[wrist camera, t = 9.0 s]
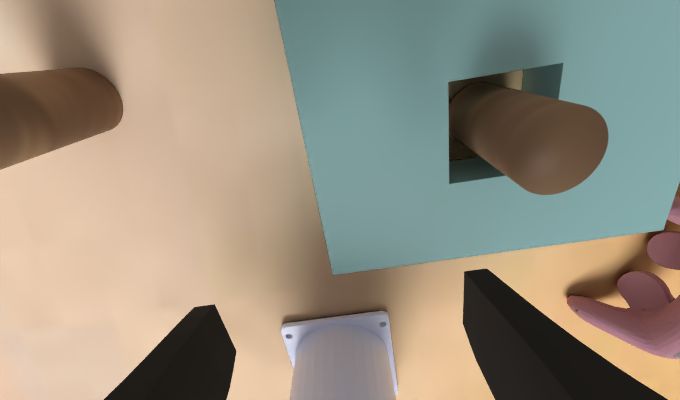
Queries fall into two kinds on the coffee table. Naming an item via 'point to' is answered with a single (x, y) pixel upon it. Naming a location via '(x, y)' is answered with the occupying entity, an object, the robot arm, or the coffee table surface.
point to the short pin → (530, 136)
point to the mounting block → (433, 121)
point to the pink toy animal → (643, 301)
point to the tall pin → (53, 111)
